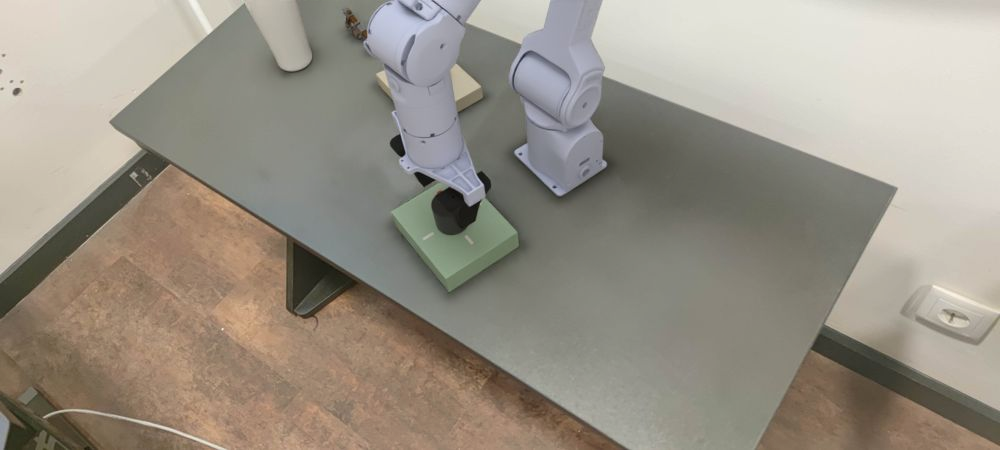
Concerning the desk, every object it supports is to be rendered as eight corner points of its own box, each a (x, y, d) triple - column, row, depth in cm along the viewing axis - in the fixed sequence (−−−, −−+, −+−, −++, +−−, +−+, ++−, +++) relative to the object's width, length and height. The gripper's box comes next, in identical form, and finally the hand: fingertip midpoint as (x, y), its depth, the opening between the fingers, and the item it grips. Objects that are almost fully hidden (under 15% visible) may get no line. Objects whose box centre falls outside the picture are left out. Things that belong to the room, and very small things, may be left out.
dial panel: (519, 246, 82) (517, 231, 80) (449, 292, 80) (445, 278, 77) (462, 185, 89) (459, 169, 86) (395, 226, 86) (390, 210, 83)
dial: (476, 223, 81) (472, 203, 78) (448, 241, 80) (443, 222, 77) (457, 202, 83) (453, 182, 80) (429, 219, 82) (423, 199, 79)
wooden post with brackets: (347, 18, 108) (348, 1, 104) (381, 56, 108) (382, 39, 104) (338, 24, 108) (338, 7, 104) (371, 62, 107) (373, 46, 103)
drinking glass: (273, 50, 107) (236, -36, 95) (317, 42, 107) (285, -45, 95) (273, 80, 103) (234, -6, 91) (319, 71, 103) (285, -16, 91)
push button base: (483, 98, 97) (480, 76, 94) (423, 132, 94) (417, 111, 91) (436, 54, 103) (432, 32, 100) (378, 85, 101) (372, 64, 97)
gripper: (356, 95, 70) (385, 180, 81) (434, 181, 63) (454, 263, 74) (415, 63, 72) (435, 151, 83) (497, 144, 65) (507, 228, 76)
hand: (447, 201), depth 78 cm, fingers open, 7 cm apart
